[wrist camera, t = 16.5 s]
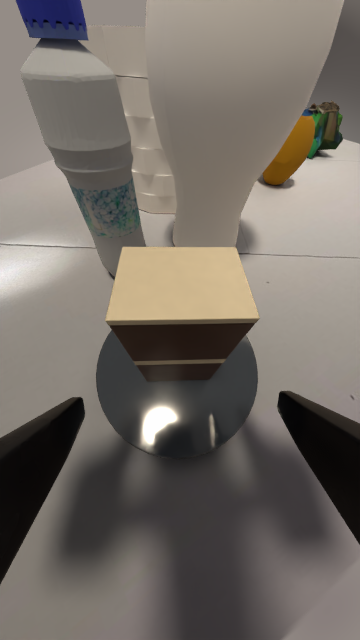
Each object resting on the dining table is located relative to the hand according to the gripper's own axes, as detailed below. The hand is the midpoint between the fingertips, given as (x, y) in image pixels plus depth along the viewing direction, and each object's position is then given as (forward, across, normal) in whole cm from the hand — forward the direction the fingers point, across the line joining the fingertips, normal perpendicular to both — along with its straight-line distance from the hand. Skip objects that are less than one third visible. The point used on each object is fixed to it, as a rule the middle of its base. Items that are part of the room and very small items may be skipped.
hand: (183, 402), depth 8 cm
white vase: (+26, -5, -12) cm, 29 cm away
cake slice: (+9, 0, +2) cm, 9 cm away
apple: (+43, -26, -30) cm, 59 cm away
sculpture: (+61, -47, -48) cm, 91 cm away
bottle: (+20, +7, -7) cm, 23 cm away
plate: (+10, 0, +3) cm, 10 cm away
